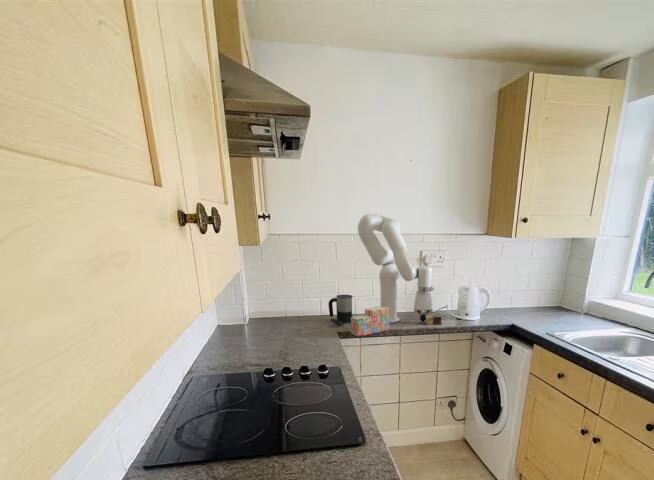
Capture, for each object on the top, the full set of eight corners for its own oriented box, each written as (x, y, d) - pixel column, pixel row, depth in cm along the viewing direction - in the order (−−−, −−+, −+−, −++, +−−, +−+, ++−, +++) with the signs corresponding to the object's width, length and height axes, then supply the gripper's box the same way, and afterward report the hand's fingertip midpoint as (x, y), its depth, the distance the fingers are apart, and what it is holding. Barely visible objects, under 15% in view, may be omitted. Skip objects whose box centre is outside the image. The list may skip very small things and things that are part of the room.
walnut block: (433, 324, 232) (433, 316, 231) (432, 322, 237) (432, 315, 235) (440, 324, 233) (441, 316, 231) (439, 322, 237) (440, 315, 235)
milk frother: (351, 318, 244) (350, 293, 238) (356, 325, 230) (356, 299, 224) (327, 320, 240) (326, 295, 234) (331, 327, 226) (330, 300, 220)
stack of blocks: (358, 337, 209) (357, 313, 204) (351, 334, 214) (350, 311, 209) (389, 330, 222) (390, 307, 217) (382, 327, 226) (382, 305, 221)
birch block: (426, 324, 233) (426, 317, 231) (425, 322, 236) (425, 316, 235) (433, 324, 233) (433, 317, 231) (432, 322, 236) (432, 316, 235)
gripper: (436, 288, 230) (434, 320, 237) (410, 288, 230) (409, 320, 237) (438, 290, 223) (436, 323, 231) (411, 290, 223) (410, 323, 230)
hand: (422, 321), depth 234 cm, fingers closed
